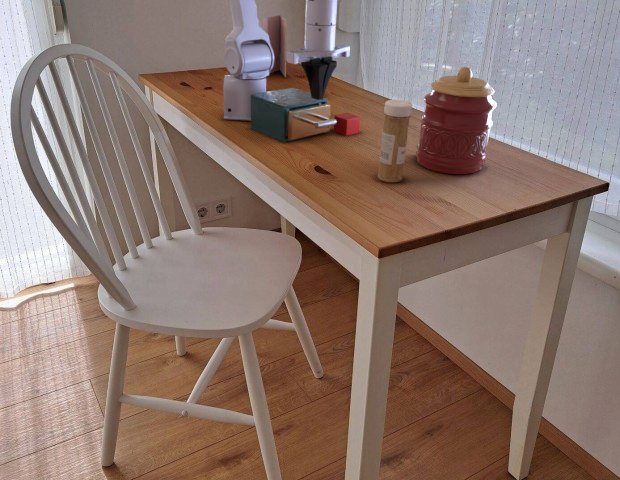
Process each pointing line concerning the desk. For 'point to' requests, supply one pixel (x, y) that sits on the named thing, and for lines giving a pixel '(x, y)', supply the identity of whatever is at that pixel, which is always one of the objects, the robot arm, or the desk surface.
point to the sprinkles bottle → (394, 140)
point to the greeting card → (277, 40)
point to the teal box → (277, 110)
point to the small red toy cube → (347, 124)
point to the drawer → (308, 120)
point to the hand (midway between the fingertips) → (317, 98)
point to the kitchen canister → (456, 124)
